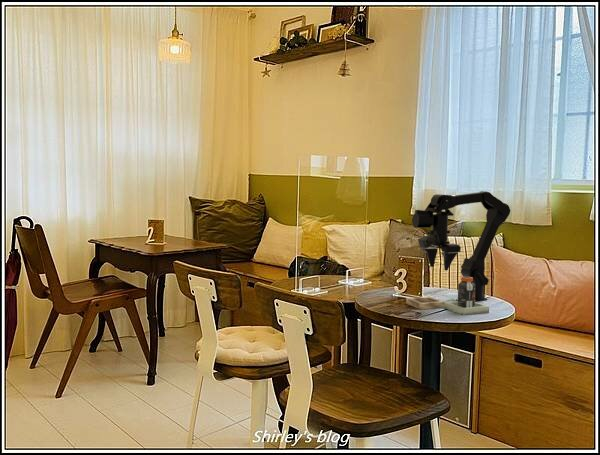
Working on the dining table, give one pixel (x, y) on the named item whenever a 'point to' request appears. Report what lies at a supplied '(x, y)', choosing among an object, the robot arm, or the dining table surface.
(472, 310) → the tray
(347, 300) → the dining table surface
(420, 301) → the socket collar
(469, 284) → the pill bottle
